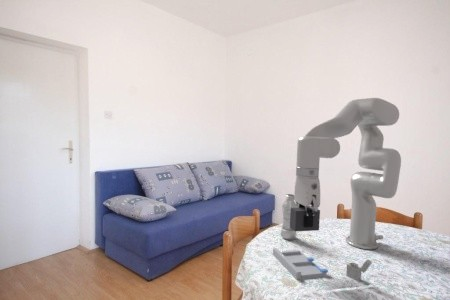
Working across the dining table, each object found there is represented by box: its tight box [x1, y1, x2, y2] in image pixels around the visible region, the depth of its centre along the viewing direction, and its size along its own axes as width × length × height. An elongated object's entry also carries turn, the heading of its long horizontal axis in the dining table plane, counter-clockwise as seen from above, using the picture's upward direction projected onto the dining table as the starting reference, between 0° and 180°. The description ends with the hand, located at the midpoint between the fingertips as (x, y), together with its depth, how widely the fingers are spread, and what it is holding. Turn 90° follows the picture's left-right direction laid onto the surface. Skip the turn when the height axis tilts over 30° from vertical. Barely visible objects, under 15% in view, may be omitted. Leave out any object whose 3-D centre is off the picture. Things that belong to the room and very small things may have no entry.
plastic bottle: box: [280, 193, 297, 241], centre depth 118 cm, size 6×7×20 cm
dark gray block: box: [290, 208, 321, 232], centre depth 93 cm, size 9×4×7 cm, turn 102°
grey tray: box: [272, 247, 330, 281], centre depth 94 cm, size 12×18×3 cm, turn 14°
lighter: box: [346, 259, 373, 282], centre depth 85 cm, size 7×2×8 cm, turn 39°
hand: (304, 224), depth 93 cm, fingers closed on dark gray block, 4 cm apart
